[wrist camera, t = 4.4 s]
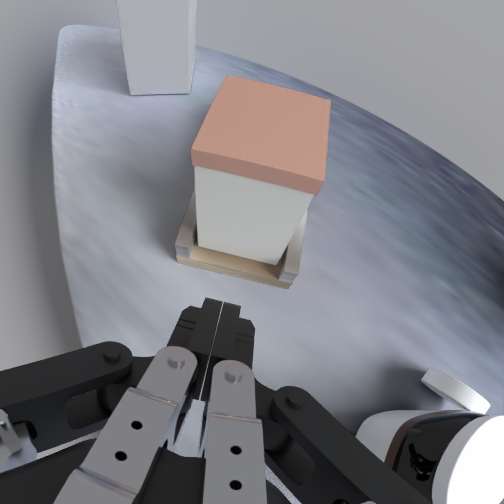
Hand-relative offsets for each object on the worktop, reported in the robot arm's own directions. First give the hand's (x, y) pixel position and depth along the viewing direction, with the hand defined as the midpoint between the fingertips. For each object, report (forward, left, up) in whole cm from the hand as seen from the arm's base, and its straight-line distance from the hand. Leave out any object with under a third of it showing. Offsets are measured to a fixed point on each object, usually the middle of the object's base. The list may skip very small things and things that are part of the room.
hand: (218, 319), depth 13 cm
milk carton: (+30, -10, -11) cm, 33 cm away
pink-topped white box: (+7, -7, -9) cm, 13 cm away
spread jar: (-15, -9, -11) cm, 21 cm away
